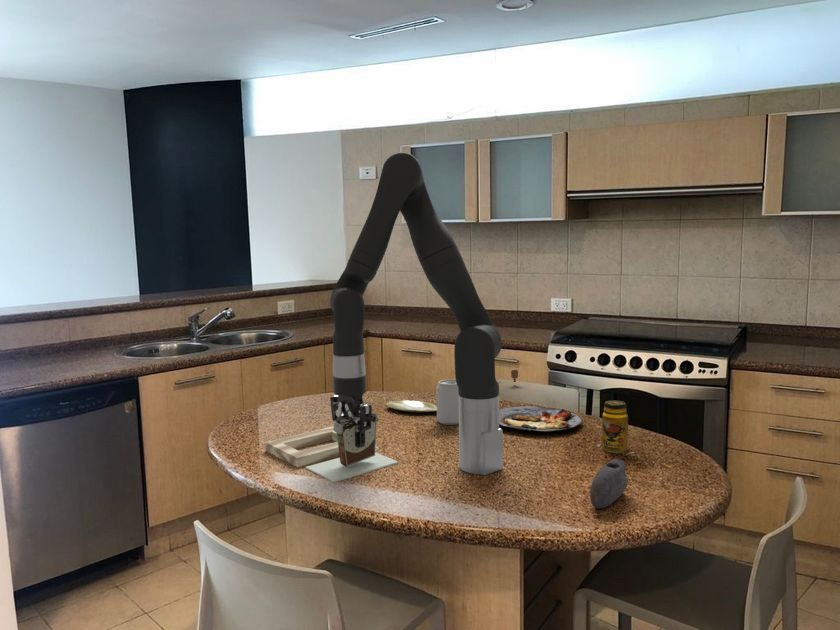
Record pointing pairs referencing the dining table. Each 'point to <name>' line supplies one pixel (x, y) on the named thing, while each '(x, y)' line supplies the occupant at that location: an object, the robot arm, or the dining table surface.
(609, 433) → the condiment
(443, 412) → the can
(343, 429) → the patterned half cylinder
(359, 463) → the mat
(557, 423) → the food plate
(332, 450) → the frame
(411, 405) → the oval serving platter
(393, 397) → the dining table surface
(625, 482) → the perforated stone tool
